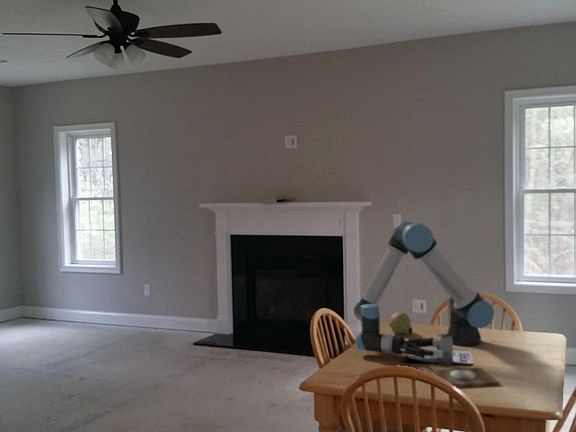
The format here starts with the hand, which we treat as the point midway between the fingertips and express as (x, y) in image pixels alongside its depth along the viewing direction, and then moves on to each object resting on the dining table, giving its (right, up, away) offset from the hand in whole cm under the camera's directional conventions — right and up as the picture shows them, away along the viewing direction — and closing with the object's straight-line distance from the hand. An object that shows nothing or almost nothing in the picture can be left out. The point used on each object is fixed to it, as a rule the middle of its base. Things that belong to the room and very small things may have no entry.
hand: (445, 349), depth 219 cm
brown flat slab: (+1, -7, -18) cm, 19 cm away
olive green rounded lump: (-8, -5, +49) cm, 50 cm away
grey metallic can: (0, -6, +1) cm, 6 cm away
